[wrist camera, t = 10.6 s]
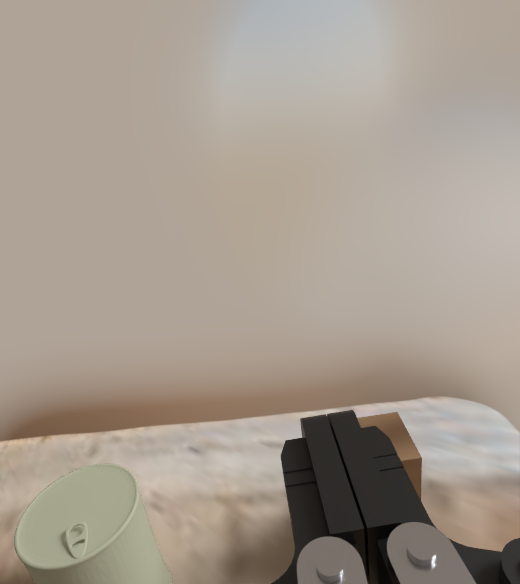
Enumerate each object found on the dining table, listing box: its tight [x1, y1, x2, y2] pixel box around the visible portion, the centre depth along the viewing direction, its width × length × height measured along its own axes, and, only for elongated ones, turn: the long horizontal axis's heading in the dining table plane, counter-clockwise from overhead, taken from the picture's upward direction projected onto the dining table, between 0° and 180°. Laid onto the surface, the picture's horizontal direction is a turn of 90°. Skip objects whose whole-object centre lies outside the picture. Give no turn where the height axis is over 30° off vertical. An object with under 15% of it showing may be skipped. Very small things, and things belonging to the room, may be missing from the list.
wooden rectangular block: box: [357, 412, 422, 500], centre depth 36 cm, size 5×6×12 cm
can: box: [14, 464, 172, 584], centre depth 35 cm, size 9×9×12 cm
